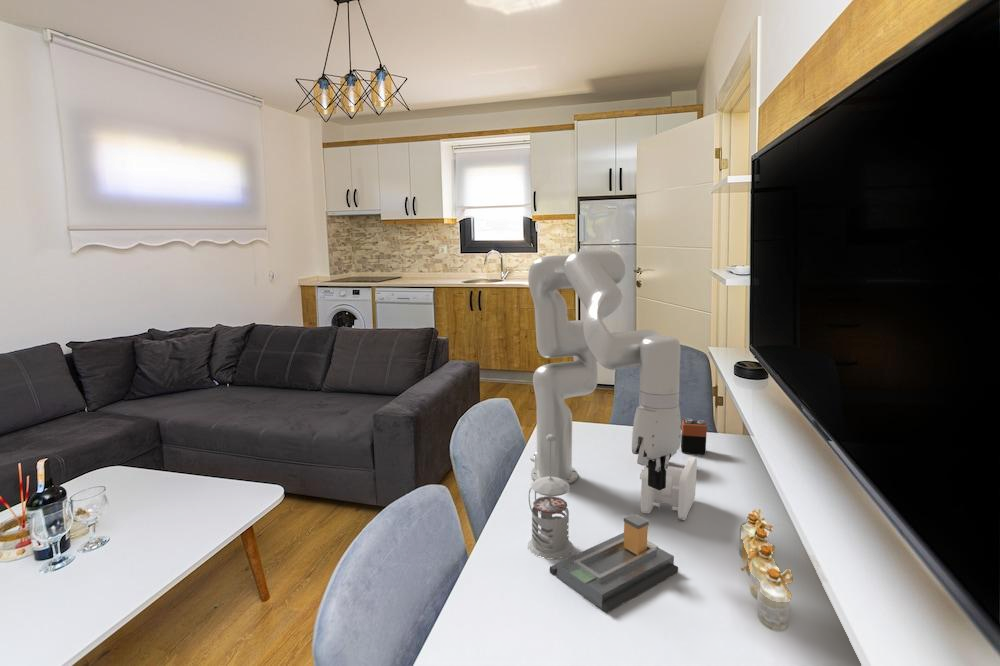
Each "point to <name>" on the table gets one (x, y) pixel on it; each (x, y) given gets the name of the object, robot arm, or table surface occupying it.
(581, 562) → the panel
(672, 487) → the cable organizer
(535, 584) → the table surface
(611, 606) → the dark grey thin bar
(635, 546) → the lever
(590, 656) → the table surface
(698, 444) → the battery
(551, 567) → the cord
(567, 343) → the robot arm
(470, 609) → the table surface
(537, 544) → the french press
